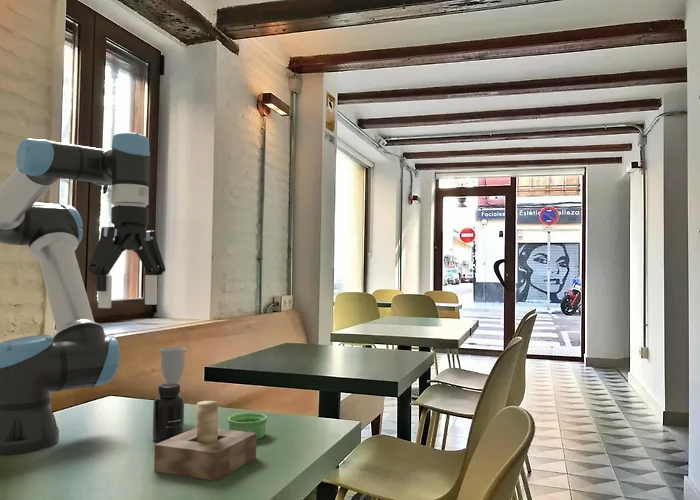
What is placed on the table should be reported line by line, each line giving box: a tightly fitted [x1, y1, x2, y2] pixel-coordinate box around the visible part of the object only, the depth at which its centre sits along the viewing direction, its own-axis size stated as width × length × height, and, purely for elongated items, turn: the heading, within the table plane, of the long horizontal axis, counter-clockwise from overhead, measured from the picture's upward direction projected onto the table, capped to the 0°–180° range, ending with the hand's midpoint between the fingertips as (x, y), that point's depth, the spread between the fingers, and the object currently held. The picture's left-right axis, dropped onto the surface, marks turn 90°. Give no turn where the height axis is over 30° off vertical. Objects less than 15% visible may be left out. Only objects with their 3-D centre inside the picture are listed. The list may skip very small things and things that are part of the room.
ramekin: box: [227, 412, 268, 441], centre depth 134 cm, size 9×9×4 cm
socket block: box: [153, 426, 257, 482], centre depth 115 cm, size 14×14×5 cm
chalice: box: [159, 346, 187, 384], centre depth 150 cm, size 7×7×18 cm
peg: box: [196, 400, 219, 444], centre depth 115 cm, size 4×4×12 cm
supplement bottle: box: [152, 383, 185, 442], centre depth 133 cm, size 7×7×12 cm
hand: (128, 306), depth 123 cm, fingers open, 13 cm apart
